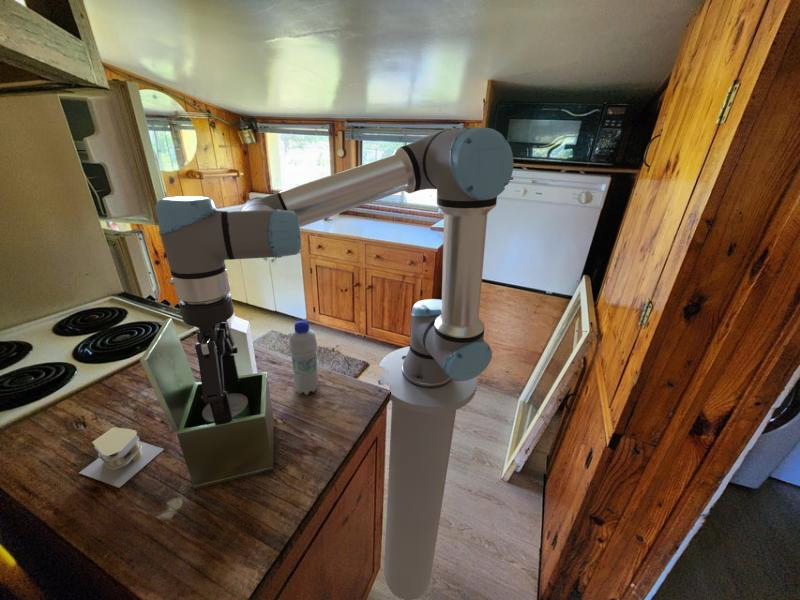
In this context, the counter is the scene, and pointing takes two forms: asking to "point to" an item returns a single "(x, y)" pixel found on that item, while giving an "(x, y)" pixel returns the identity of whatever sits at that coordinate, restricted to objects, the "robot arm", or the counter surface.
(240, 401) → the canned tomato
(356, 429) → the counter surface
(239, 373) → the milk
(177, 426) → the lid
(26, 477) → the counter surface
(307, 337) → the bottle
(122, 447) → the stacked layers on plate
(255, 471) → the bin
